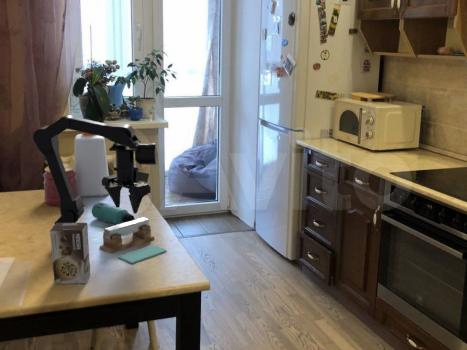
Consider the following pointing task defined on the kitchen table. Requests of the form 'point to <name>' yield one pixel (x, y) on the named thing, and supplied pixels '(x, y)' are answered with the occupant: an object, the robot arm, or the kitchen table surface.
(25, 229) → the kitchen table surface
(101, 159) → the plastic bottle
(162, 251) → the mat
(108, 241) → the rack
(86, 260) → the coffee box
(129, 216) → the beverage bottle
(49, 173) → the canister
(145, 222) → the rail
